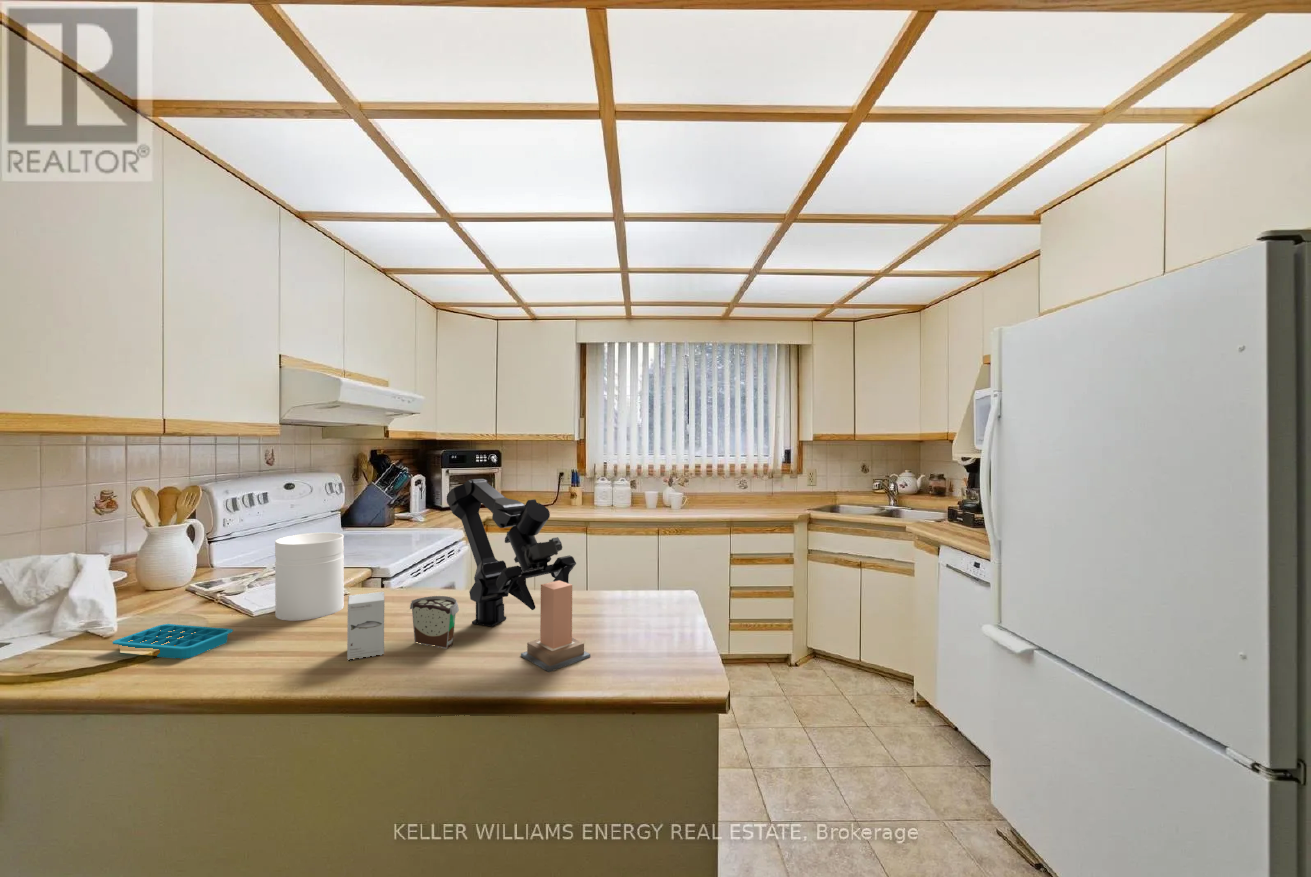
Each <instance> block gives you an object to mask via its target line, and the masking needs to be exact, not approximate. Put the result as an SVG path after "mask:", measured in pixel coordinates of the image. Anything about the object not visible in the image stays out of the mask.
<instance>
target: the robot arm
mask: <svg viewBox="0 0 1311 877" xmlns="http://www.w3.org/2000/svg"><path fill="white" fill-rule="evenodd" d="M446 504H447V505H448V507H449V508H450V511H451V514H453V515H454V516H455V517H457V518H458V519H459V520H460V521H461V523H462V526H463V529H464V532H465V535H466V539H467V540H468V544H469V547H470V549H471V552H472V556H473V559H474V561H475V562H474V563H475V565H476V571H475V573H474V577H473V579H474V583H473V585H472V586H471V588H470V590H469V598H470V600H471V601H473V602H475V619H474V620H472V621H471V624H473V625H479V626H480V625H481V626H484V627H485V626H487V627H494V626H496V625H498V624H499V623H502V622H503V621H505V620H506V619H507V616H505V603H504V598H507V597H509V594H510V595H511V596H513V597H514V598H516V599H517V600H519V601H520V602H521V603H523V604H524V605H525V606H527V608H529V609H531V611H534V610H535V609H536V604H535V602H534V601H535V600H534V598H533V596H532V594H531V593H530V592H531V591H530V590H529V588H528V585H527V579H530V578H534V577H540V576H543V575H544V576H545V575H548V574H550V575H551V577H552V578H554V579H553V580H552V582H554V581H558V580H560V581H563V582H566V583H568V584H570V583H569V575H570V573H571V572H572V571H573V569H574V568H575V566H576V565H577V562H576V560H575V557H573V556H572V555H564V556H561V557H560V556H558V557H557V558H556V559H555V561H554V562H553V564H548V563H549V562H551V560H552V558H551V557H553V556H557V555H558V554H559V553H558V552H560V551H562V550H563V545H562V541H561V540H560V538H559V537H552V538H551V539H548V541H544V542H540V541H539V542H538V541H537V539H536V537H535V536H537V535H538V534H540V532H541V530H542V529H543V527H544V526H545V525H546V523H547V522H548V520H549V519H550V517H551V513H550V511H549V509H548V507H546V506H545V505H544V504H542V503H539V502H537V500H536V499H534V498H533V499H527V501H526V503H525V504H524V502H521V501H519V500H516V499H511V498H507V497H506V496H504V495H503V494H502V493H500V492H499V491H498V490H497V489H495V488H494V487H493V486H492V485H491V484H490V483H489V482H488V480H487V479H486V478H485V479H484V478H474V479H473V478H472V479H469V480H467V481H465V482H464V483H462V484H460V485H457V486H455V487H453V488H452V489H450V491H449V492H448V493H447V494H446ZM482 505H483V506H484V507H485V508H487V509H488V510H489V511H490V512H491V513H492V516H491V519H492V521H493V522H494V523H495V525H496V526H497V527H498V528H499V529H506V528H510V529H509V530H508V531H507V532H506V534H505V538H504V543H505V544H508V543H510V546H511V548H512V550H513V552H514V555H515V557H514V558H513V560H514V562H515V563H518V564H519V565H514V566H508V567H507V563H506V562H505V561H504V560H498V559H497V558H495V554H494V551H493V549H492V545H491V543H490V540H489V536H488V535H487V531H486V529H485V526H484V523H483V520H482V518H481V514H480V510H481V509H480V508H481V506H482Z"/></svg>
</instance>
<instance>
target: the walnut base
mask: <svg viewBox="0 0 1311 877" xmlns="http://www.w3.org/2000/svg"><path fill="white" fill-rule="evenodd" d="M526 644H527V645H526V646H527V647H526V648H527V649H526V650H527V651H524V652H521V653H520V657H522V658H524V659H525V660H527V661H528V662H530V663H532V664H534V665H536V666H538V667H539V668H541V669H543V670H544V671H547V672H548V673H550V672H552V671H555V670H559V669H561V668H564V667H567V666H569V665H571V664H575V663H578V662H580V661H583V660H585V659H588V658H590V657H591V653H589V652H587V651H586V650H585V642H583V641H580V640H578V639H576V638H574V637H572V643H569V644H566V645H563V646H560V647H557V648H554V649H553V648H551V647H549V646H547V645H545V644H543V643H541V642H540V638H538V639H535V640H532V641H528V642H527V643H526Z"/></svg>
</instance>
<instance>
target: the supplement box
mask: <svg viewBox="0 0 1311 877" xmlns="http://www.w3.org/2000/svg"><path fill="white" fill-rule="evenodd" d="M346 638H347V641H346V642H347V643H346V644H347V646H346V647H347V648H346V649H347V650H346V652H347V654H346V657H347V659H348V660H349V659H353V658H359V659H364V658H363V657H366V658H370V656H372V657H377V656H376V655H380V656H383V655H382V654H385V592H384V591H377V592H370V593H369V592H368V593H358V594H351V595H348V598H347V637H346ZM348 660H347V661H348ZM353 660H354V659H353Z"/></svg>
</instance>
